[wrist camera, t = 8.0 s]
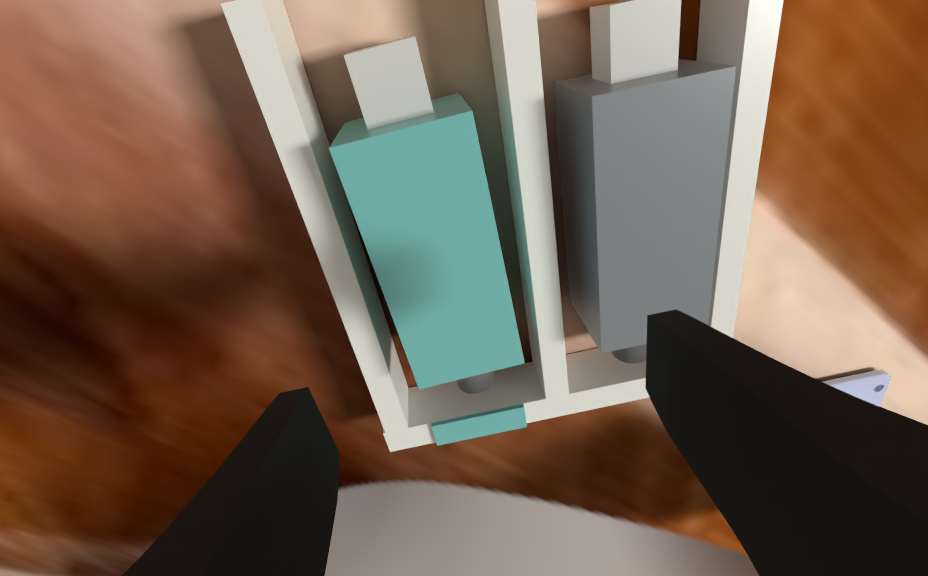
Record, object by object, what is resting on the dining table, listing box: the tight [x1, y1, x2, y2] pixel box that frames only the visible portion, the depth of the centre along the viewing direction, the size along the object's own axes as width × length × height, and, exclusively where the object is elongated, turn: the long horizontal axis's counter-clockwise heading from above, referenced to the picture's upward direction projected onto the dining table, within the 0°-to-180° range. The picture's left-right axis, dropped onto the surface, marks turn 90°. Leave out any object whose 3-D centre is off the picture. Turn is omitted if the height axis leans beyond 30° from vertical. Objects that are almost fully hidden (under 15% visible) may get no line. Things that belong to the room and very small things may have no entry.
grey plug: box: [553, 0, 736, 363], centre depth 16 cm, size 13×4×4 cm, turn 10°
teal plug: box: [329, 35, 525, 394], centre depth 16 cm, size 13×4×4 cm, turn 13°
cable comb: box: [221, 0, 783, 452], centre depth 17 cm, size 17×15×3 cm
